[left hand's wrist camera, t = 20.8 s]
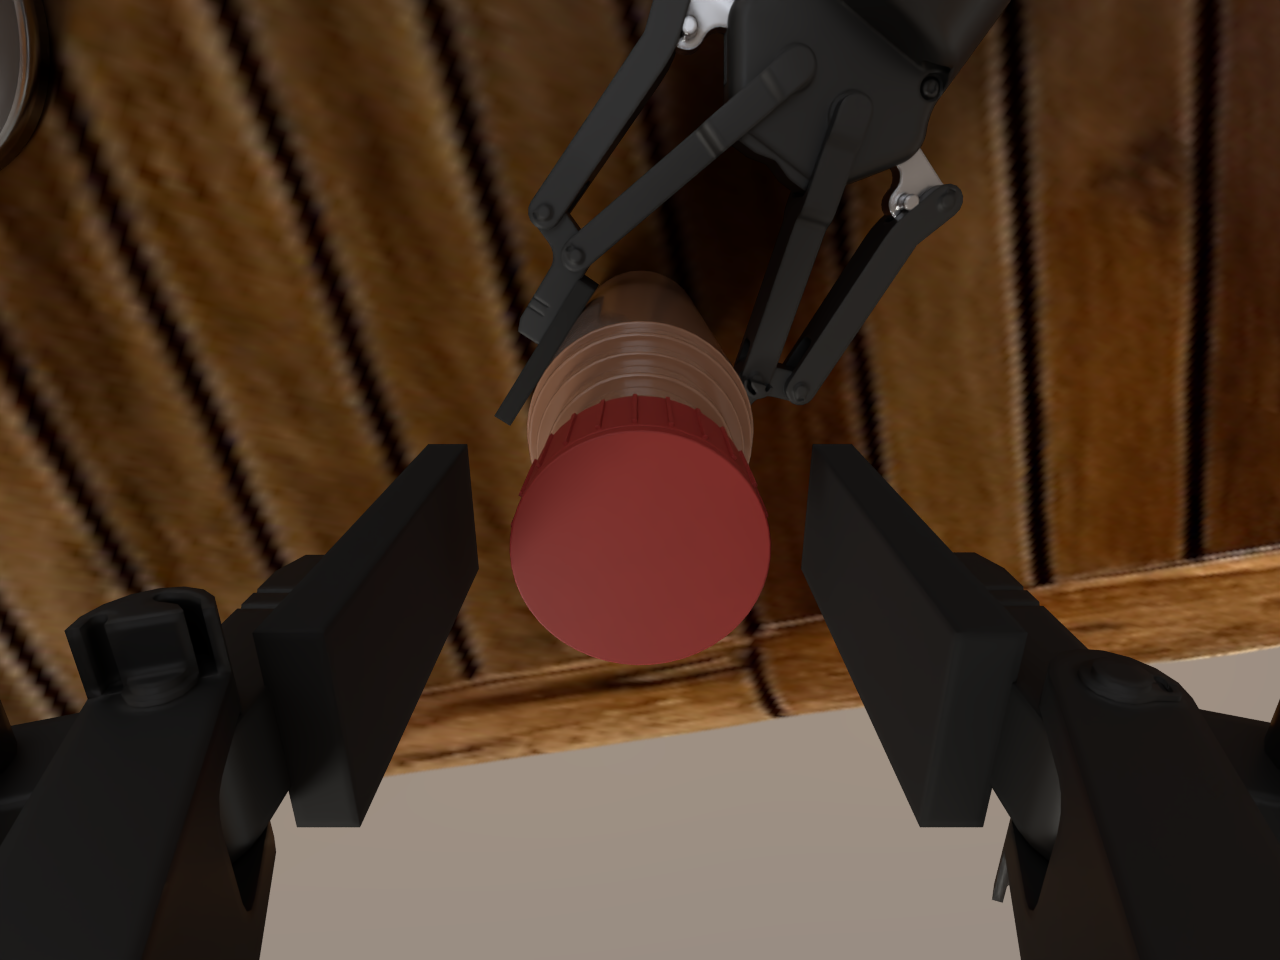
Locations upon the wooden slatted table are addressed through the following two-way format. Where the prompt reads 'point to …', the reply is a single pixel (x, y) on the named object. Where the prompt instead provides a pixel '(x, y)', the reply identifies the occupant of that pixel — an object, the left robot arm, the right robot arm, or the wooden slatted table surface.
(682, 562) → the cap
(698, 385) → the bottle
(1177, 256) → the wooden slatted table surface
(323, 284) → the wooden slatted table surface
